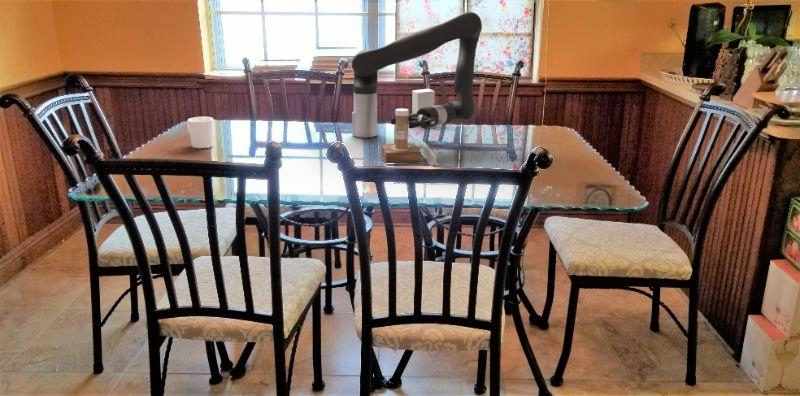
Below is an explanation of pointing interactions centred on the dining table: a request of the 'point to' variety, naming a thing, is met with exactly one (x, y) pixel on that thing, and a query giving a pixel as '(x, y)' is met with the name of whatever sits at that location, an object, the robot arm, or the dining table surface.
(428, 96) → the skincare box
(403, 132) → the sprinkles bottle
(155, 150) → the dining table surface
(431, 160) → the divider
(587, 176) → the dining table surface
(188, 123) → the mug
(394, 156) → the walnut block
